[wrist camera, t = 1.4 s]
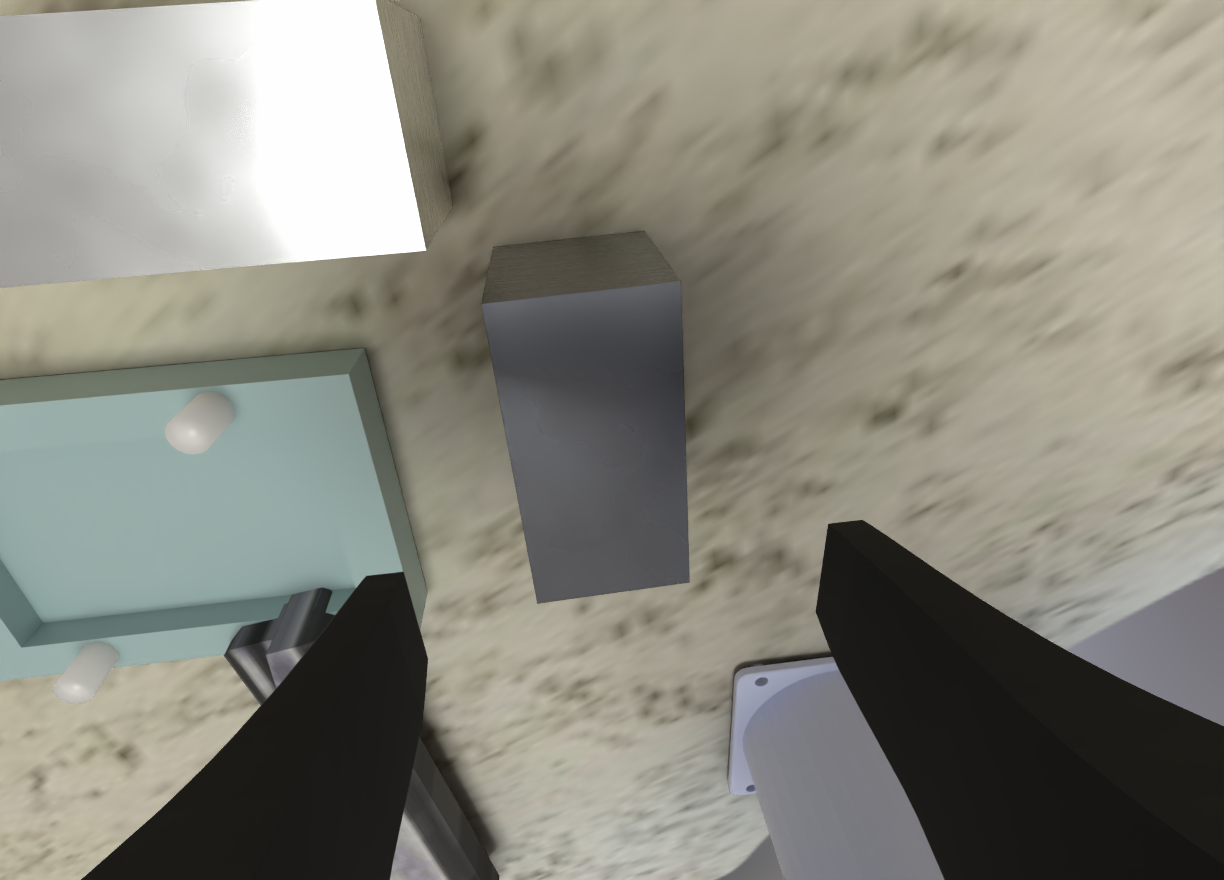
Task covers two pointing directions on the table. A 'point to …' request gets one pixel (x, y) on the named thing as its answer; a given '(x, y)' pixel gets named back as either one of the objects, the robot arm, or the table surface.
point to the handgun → (432, 819)
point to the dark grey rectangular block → (593, 410)
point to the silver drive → (214, 138)
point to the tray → (187, 508)
